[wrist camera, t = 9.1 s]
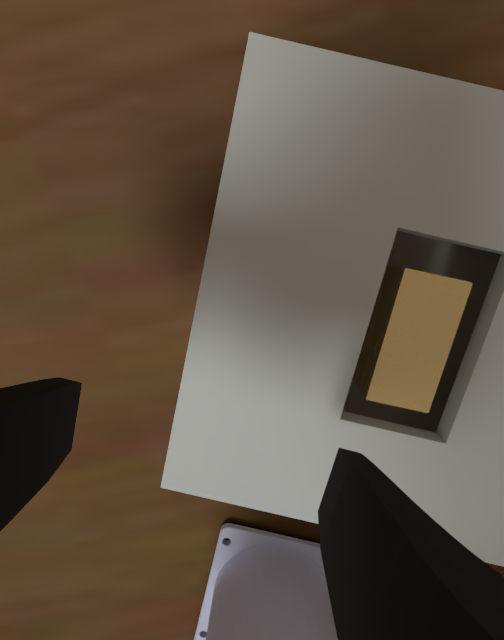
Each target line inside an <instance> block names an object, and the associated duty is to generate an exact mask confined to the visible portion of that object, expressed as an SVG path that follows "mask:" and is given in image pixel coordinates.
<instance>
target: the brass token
mask: <svg viewBox="0 0 504 640" xmlns="http://www.w3.org/2000/svg"><path fill="white" fill-rule="evenodd" d="M472 285H473V282H468V281H464V280H459V279H455V278H450V277H445V276H441V275H436V274H431V273H427V272H422V271H418V270H413V269H408V268H403V267H395V266H388V265H387V266H386V269H385V272H384V276H383V279H382V282H381V285H380V289H379V292H378V295H377V299H376V302H375V305H374V309H373V312H372V315H371V319H370V322H369V325H368V328H367V332H366V335H365V338H364V342H363V345H362V348H361V352H360V355H359V358H358V361H357V365H356V368H355V371H354V375H353V378H352V379H353V381H354V382H355V384H356V386H357V387H358V389H359V390H360V392H361V393H362V395H363V396H364V398H365V399H366V400H369V401H374V402H378V403H383V404H387V405H392V406H397V407H401V408H406V409H410V410H415V411H420V412H424V413H429V410H430V408H431V405H432V402H433V399H434V396H435V393H436V390H437V387H438V384H439V381H440V378H441V375H442V372H443V370H444V367H445V364H446V361H447V358H448V355H449V352H450V349H451V346H452V343H453V340H454V337H455V335H456V332H457V329H458V326H459V323H460V320H461V317H462V314H463V311H464V308H465V305H466V302H467V299H468V297H469V294H470V291H471V288H472Z"/></svg>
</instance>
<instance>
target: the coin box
mask: <svg viewBox="0 0 504 640" xmlns="http://www.w3.org/2000/svg"><path fill="white" fill-rule="evenodd" d="M387 265H388V266H395V267H403V268H408V269H413V270H418V271H422V272H427V273H431V274H436V275H441V276H445V277H450V278H455V279H459V280H464V281H468V282H473V285H472V288H471V291H470V294H469V297H468V299H467V302H466V305H465V308H464V311H463V314H462V317H461V320H460V323H459V326H458V329H457V332H456V335H455V337H454V340H453V343H452V346H451V349H450V352H449V355H448V358H447V361H446V364H445V367H444V370H443V372H442V375H441V378H440V381H439V384H438V387H437V390H436V393H435V396H434V399H433V402H432V405H431V408H430V410H429V413H424V412H420V411H415V410H410V409H406V408H401V407H397V406H392V405H387V404H383V403H378V402H374V401H369V400H366V399H365V398H364V396H363V395H362V393H361V392H360V390H359V389H358V387H357V386H356V384H355V382H354V381H353V379H352V378H353V375H354V371H355V368H356V365H357V361H358V358H359V355H360V352H361V348H362V345H363V342H364V338H365V335H366V332H367V328H368V325H369V322H370V319H371V315H372V312H373V309H374V305H375V302H376V299H377V295H378V292H379V289H380V285H381V282H382V279H383V276H384V272H385V269H386V266H387ZM339 448H343V449H347V450H351V451H355V452H359V453H361V454H363V455H364V456H365V457H367V458H368V459H369V460H370V461H371V462H372V463H374V464H375V465H376V466H377V467H378V468H379V469H380V470H381V471H382V472H383V473H384V474H385V475H386V476H387V477H388V478H389V479H390V480H392V481H393V482H394V483H395V484H396V485H397V486H398V487H399V488H400V489H401V490H402V491H403V492H404V493H405V494H406V495H407V496H408V497H409V498H410V499H411V500H413V501H414V502H415V503H416V504H417V505H418V506H419V507H420V508H421V509H422V510H423V511H424V512H426V513H427V514H428V515H429V516H430V517H431V518H432V519H433V520H434V521H436V522H437V523H438V524H439V525H440V526H441V527H442V528H444V529H445V530H446V531H447V532H448V533H449V534H451V535H452V536H453V537H454V538H455V539H456V540H457V541H459V542H460V543H461V544H462V545H463V546H465V547H466V548H467V549H468V550H470V551H471V552H472V553H473V554H474V555H476V556H477V557H478V558H480V559H481V560H482V561H483V562H486V563H490V564H494V565H499V566H503V567H504V91H503V90H499V89H494V88H490V87H486V86H481V85H477V84H473V83H468V82H464V81H460V80H455V79H451V78H447V77H442V76H438V75H434V74H429V73H425V72H421V71H416V70H412V69H408V68H403V67H399V66H395V65H390V64H386V63H382V62H377V61H373V60H369V59H364V58H360V57H356V56H351V55H347V54H343V53H338V52H334V51H330V50H325V49H321V48H317V47H313V46H308V45H304V44H300V43H295V42H291V41H287V40H282V39H278V38H274V37H269V36H265V35H261V34H256V33H252V32H249V37H248V42H247V47H246V52H245V57H244V62H243V68H242V73H241V78H240V83H239V88H238V93H237V98H236V103H235V109H234V114H233V119H232V124H231V129H230V134H229V139H228V144H227V150H226V155H225V160H224V165H223V170H222V175H221V180H220V185H219V191H218V196H217V201H216V206H215V211H214V216H213V221H212V226H211V231H210V237H209V242H208V247H207V252H206V257H205V262H204V267H203V272H202V278H201V283H200V288H199V293H198V298H197V303H196V308H195V313H194V319H193V324H192V329H191V334H190V339H189V344H188V349H187V354H186V360H185V365H184V370H183V375H182V380H181V385H180V390H179V395H178V401H177V406H176V411H175V416H174V421H173V426H172V431H171V436H170V442H169V447H168V452H167V457H166V462H165V467H164V472H163V477H162V482H161V488H165V489H169V490H173V491H178V492H182V493H186V494H191V495H195V496H199V497H204V498H208V499H212V500H217V501H221V502H225V503H230V504H234V505H238V506H243V507H247V508H251V509H256V510H260V511H265V512H269V513H273V514H278V515H282V516H286V517H291V518H295V519H299V520H304V521H308V522H312V523H317V524H319V523H318V509H319V506H320V503H321V500H322V497H323V494H324V491H325V488H326V485H327V482H328V479H329V476H330V473H331V470H332V467H333V464H334V461H335V458H336V455H337V452H338V449H339Z"/></svg>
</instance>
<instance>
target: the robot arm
mask: <svg viewBox="0 0 504 640" xmlns="http://www.w3.org/2000/svg"><path fill="white" fill-rule="evenodd" d="M81 384H82V383H80V382H76V381H72V380H68V379H64V378H51V379H44V380H39V381H33V382H28V383H24V384H19V385H14V386H9V387H5V388H0V531H1V530H2V529H3V528H4V527H5V526H6V525H7V524H8V523H9V522H10V521H11V520H12V519H13V518H14V517H15V516H16V515H17V513H18V512H19V511H20V510H21V509H22V508H23V507H24V506H25V505H26V504H27V503H28V502H29V501H30V500H31V499H32V498H33V497H34V496H35V495H36V493H37V492H38V491H39V490H40V489H41V488H42V487H43V486H44V485H45V484H46V483H47V482H48V480H49V479H50V478H51V476H52V475H53V474H54V473H55V471H56V470H57V469H58V467H59V466H60V465H61V463H62V462H63V460H64V459H65V458H66V456H67V455H68V453H69V452H70V451H71V448H72V442H73V436H74V429H75V423H76V416H77V410H78V404H79V397H80V391H81ZM318 523H319V538H320V544H319V543H315V542H310V541H306V540H302V539H297V538H293V537H289V536H284V535H280V534H276V533H271V532H267V531H263V530H258V529H254V528H250V527H245V526H241V525H237V524H232V523H226V524H224V525H222V527H221V529H220V534H219V538H218V542H217V546H216V550H215V554H214V558H213V562H212V567H211V571H210V575H209V579H208V583H207V587H206V591H205V595H204V600H203V604H202V608H201V612H200V616H199V620H198V624H197V628H196V632H195V637H194V640H504V577H503V576H502V575H500V574H499V573H498V572H496V571H495V570H494V569H493V568H491V567H490V566H489V565H487V564H486V563H485V562H483V561H482V560H481V559H480V558H478V557H477V556H476V555H474V554H473V553H472V552H471V551H470V550H468V549H467V548H466V547H465V546H463V545H462V544H461V543H460V542H459V541H457V540H456V539H455V538H454V537H453V536H452V535H451V534H449V533H448V532H447V531H446V530H445V529H444V528H442V527H441V526H440V525H439V524H438V523H437V522H436V521H434V520H433V519H432V518H431V517H430V516H429V515H428V514H427V513H426V512H424V511H423V510H422V509H421V508H420V507H419V506H418V505H417V504H416V503H415V502H414V501H413V500H411V499H410V498H409V497H408V496H407V495H406V494H405V493H404V492H403V491H402V490H401V489H400V488H399V487H398V486H397V485H396V484H395V483H394V482H393V481H392V480H390V479H389V478H388V477H387V476H386V475H385V474H384V473H383V472H382V471H381V470H380V469H379V468H378V467H377V466H376V465H375V464H374V463H372V462H371V461H370V460H369V459H368V458H367V457H365V456H364V455H363V454H361V453H359V452H355V451H351V450H347V449H343V448H339V449H338V452H337V455H336V458H335V461H334V464H333V467H332V470H331V473H330V476H329V479H328V482H327V485H326V488H325V491H324V494H323V497H322V500H321V503H320V506H319V509H318ZM225 538H228V539H230V540H225Z"/></svg>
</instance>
